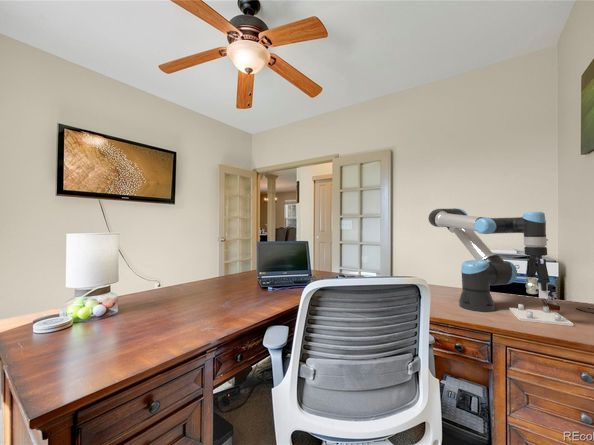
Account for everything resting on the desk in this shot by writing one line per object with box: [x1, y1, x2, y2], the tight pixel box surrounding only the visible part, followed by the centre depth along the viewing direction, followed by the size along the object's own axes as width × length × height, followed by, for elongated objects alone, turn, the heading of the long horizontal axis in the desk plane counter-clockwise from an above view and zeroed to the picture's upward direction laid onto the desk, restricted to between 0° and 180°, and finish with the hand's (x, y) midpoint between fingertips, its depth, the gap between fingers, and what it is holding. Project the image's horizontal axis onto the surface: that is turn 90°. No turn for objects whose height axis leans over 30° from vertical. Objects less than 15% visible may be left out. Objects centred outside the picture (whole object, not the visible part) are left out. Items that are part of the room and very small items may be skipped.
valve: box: [525, 277, 557, 298], centre depth 116 cm, size 7×7×12 cm
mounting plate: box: [509, 303, 574, 327], centre depth 116 cm, size 17×16×4 cm
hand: (537, 294), depth 116 cm, fingers closed on valve, 12 cm apart
